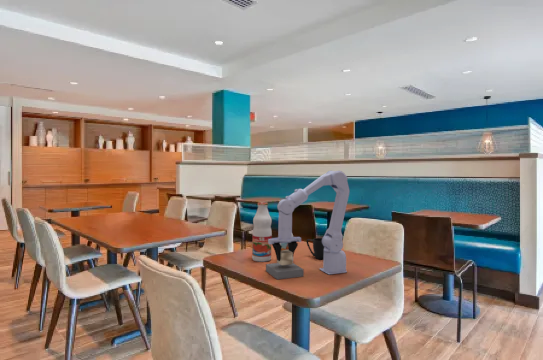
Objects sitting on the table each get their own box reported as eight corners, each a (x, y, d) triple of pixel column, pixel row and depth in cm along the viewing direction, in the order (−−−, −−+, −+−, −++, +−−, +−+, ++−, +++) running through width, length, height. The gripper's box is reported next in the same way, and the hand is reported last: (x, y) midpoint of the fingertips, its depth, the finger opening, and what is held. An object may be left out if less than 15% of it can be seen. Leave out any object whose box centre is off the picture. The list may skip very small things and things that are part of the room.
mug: (310, 254, 173) (310, 236, 172) (331, 257, 166) (332, 239, 166) (303, 257, 166) (303, 238, 166) (325, 261, 159) (325, 242, 159)
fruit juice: (272, 257, 165) (273, 202, 164) (270, 262, 155) (271, 203, 155) (253, 256, 166) (254, 201, 165) (250, 261, 156) (251, 203, 156)
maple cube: (287, 261, 142) (287, 249, 142) (292, 264, 137) (292, 252, 137) (276, 262, 140) (277, 250, 140) (281, 265, 135) (281, 253, 135)
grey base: (290, 268, 147) (290, 261, 147) (303, 276, 136) (303, 269, 136) (265, 270, 142) (266, 264, 142) (277, 279, 131) (277, 272, 131)
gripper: (273, 230, 132) (272, 263, 132) (304, 228, 138) (304, 260, 138) (266, 227, 138) (265, 259, 139) (297, 225, 144) (296, 256, 144)
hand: (284, 259), depth 139 cm, fingers closed on maple cube, 5 cm apart
